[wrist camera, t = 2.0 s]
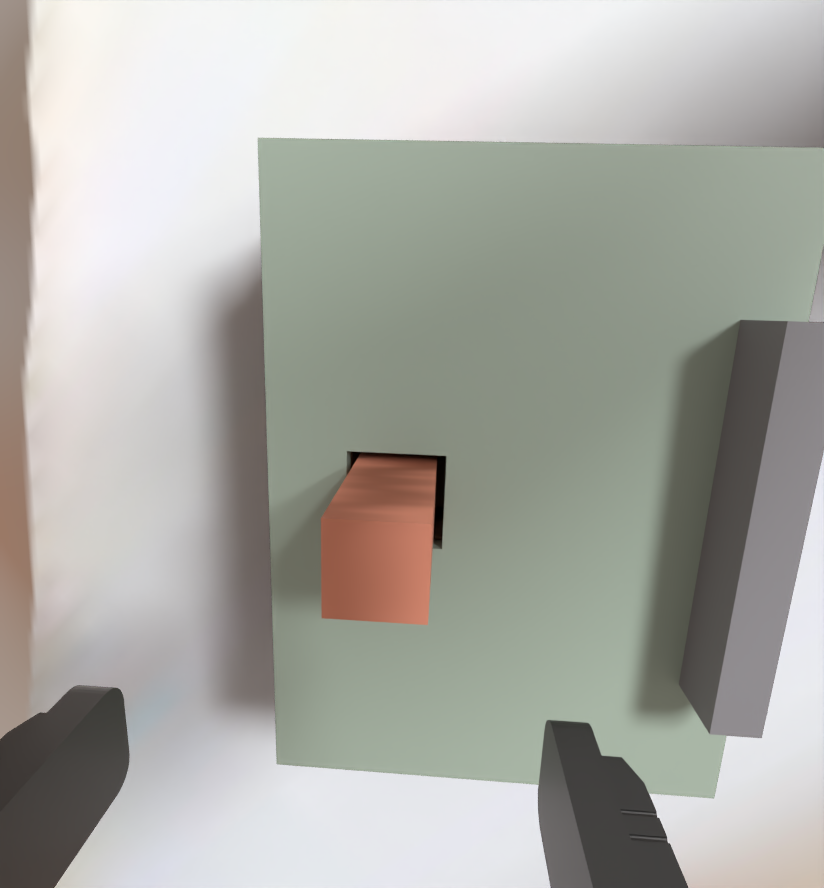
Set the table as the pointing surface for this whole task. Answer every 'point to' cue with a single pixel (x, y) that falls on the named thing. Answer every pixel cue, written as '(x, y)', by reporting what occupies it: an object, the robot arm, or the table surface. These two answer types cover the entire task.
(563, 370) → the toolbox lid
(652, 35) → the table surface
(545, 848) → the robot arm
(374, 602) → the pin
